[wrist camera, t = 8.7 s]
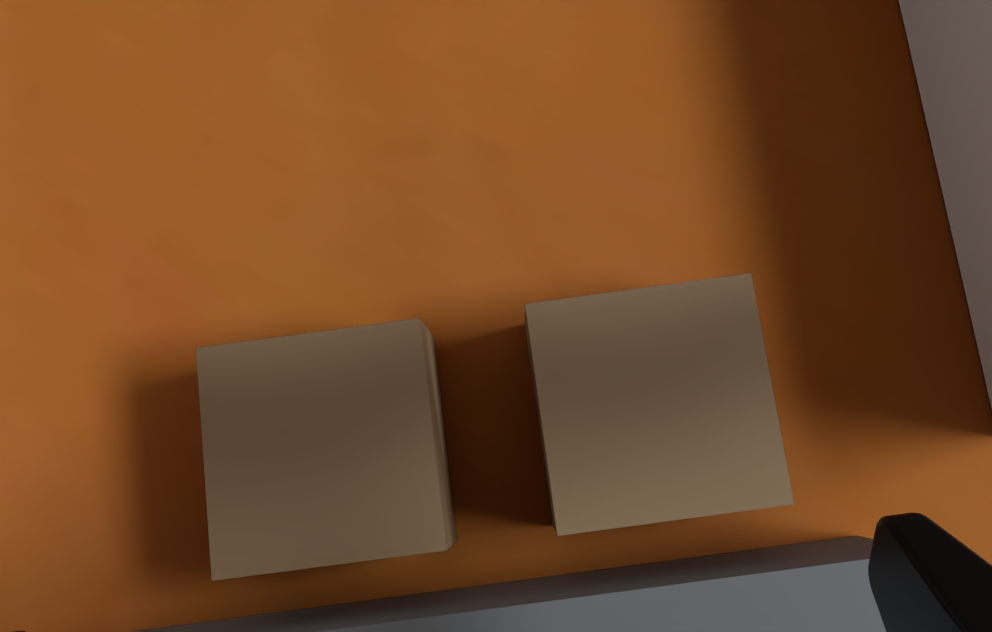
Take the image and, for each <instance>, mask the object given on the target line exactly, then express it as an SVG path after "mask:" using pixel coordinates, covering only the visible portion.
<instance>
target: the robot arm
mask: <svg viewBox="0 0 992 632" xmlns="http://www.w3.org/2000/svg"><path fill="white" fill-rule="evenodd" d="M868 576H869V582H870V587H871V590H872V593H873V596H874V599H875V601H876V604H877V607H878V610H879V613H880V616H881V618H882V621H883V624H884V627H885V630H886V632H992V565H991V564H989V563H988V562H987V561H985V560H984V559H983V558H981V557H980V556H979V555H977V554H976V553H975V552H973V551H972V550H971V549H969V548H968V547H967V546H965V545H964V544H963V543H961V542H960V541H959V540H957V539H956V538H955V537H953V536H952V535H951V534H949V533H948V532H947V531H945V530H944V529H943V528H941V527H940V526H938V525H937V524H936V523H934V522H933V521H932V520H930V519H929V518H928V517H926V516H924V515H922V514H919V513H905V514H898V515H890V516H885V517H882V518H881V519H880V520H879V521H878V522H877V525H876V529H875V534H874V539H873V544H872V549H871V554H870V559H869V564H868ZM14 632H25V631H14Z"/></svg>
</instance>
